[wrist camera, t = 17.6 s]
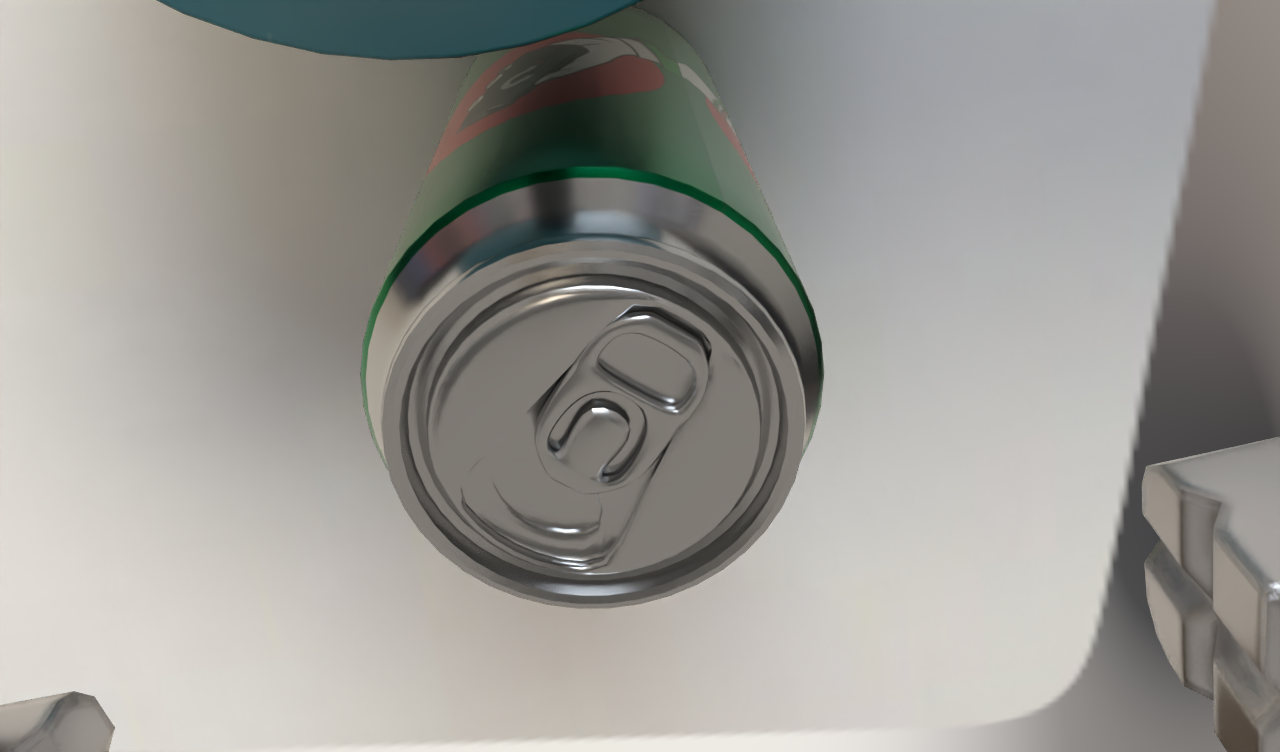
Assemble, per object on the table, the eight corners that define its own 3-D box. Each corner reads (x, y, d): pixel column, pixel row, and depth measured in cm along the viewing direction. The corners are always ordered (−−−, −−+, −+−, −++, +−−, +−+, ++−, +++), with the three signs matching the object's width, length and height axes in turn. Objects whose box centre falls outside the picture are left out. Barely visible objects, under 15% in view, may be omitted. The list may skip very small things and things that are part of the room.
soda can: (409, 169, 23) (255, 512, 12) (543, -63, 21) (502, 95, 10) (629, 296, 24) (666, 704, 13) (772, 88, 22) (946, 367, 12)
